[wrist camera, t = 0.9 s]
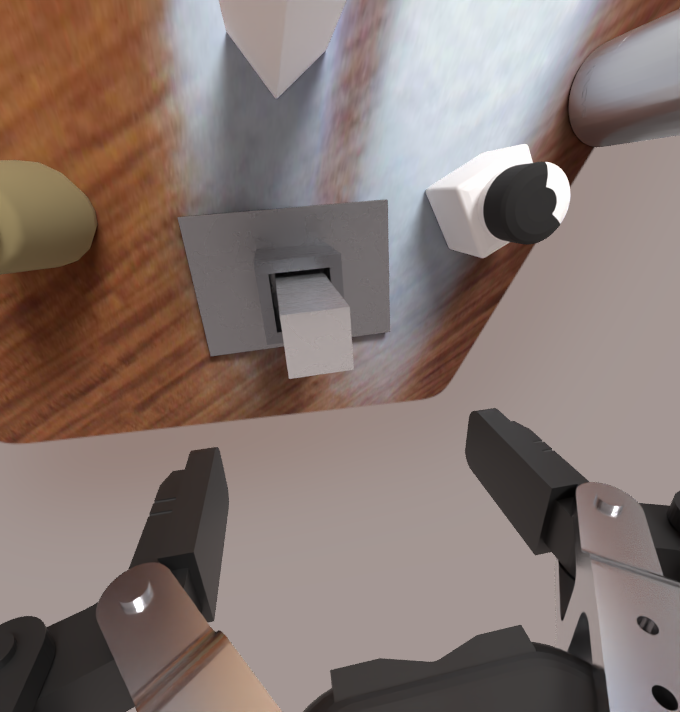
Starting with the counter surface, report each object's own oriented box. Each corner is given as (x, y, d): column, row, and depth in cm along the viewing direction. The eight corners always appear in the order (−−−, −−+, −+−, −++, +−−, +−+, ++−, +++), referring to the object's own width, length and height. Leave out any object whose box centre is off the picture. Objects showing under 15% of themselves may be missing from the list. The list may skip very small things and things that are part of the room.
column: (312, 259, 37) (349, 306, 21) (316, 297, 39) (353, 369, 23) (273, 263, 37) (279, 315, 20) (278, 302, 38) (289, 379, 22)
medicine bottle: (448, 250, 41) (514, 269, 30) (423, 189, 38) (486, 186, 27) (504, 215, 40) (592, 222, 30) (483, 151, 37) (572, 132, 26)
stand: (384, 199, 37) (423, 200, 28) (386, 328, 43) (420, 364, 34) (180, 216, 35) (148, 223, 25) (212, 352, 40) (195, 398, 31)
